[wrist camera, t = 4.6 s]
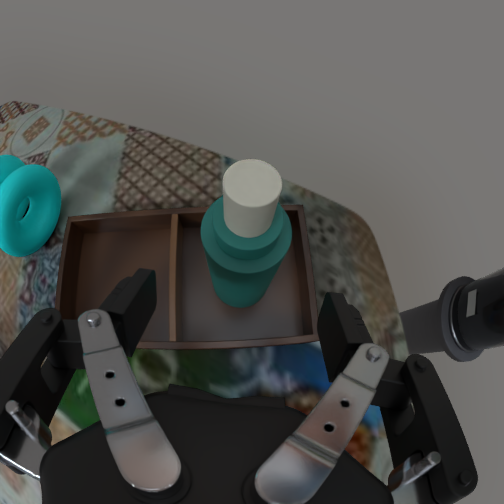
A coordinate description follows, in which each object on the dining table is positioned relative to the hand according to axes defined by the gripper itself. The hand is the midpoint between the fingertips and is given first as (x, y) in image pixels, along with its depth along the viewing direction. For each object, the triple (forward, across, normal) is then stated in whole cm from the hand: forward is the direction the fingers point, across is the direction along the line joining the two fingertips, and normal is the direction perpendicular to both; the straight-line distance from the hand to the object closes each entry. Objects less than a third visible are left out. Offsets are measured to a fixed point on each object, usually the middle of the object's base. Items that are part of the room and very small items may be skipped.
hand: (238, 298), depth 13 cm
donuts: (+14, +27, +4) cm, 31 cm away
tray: (+11, +6, +7) cm, 14 cm away
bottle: (+11, 0, +6) cm, 13 cm away
